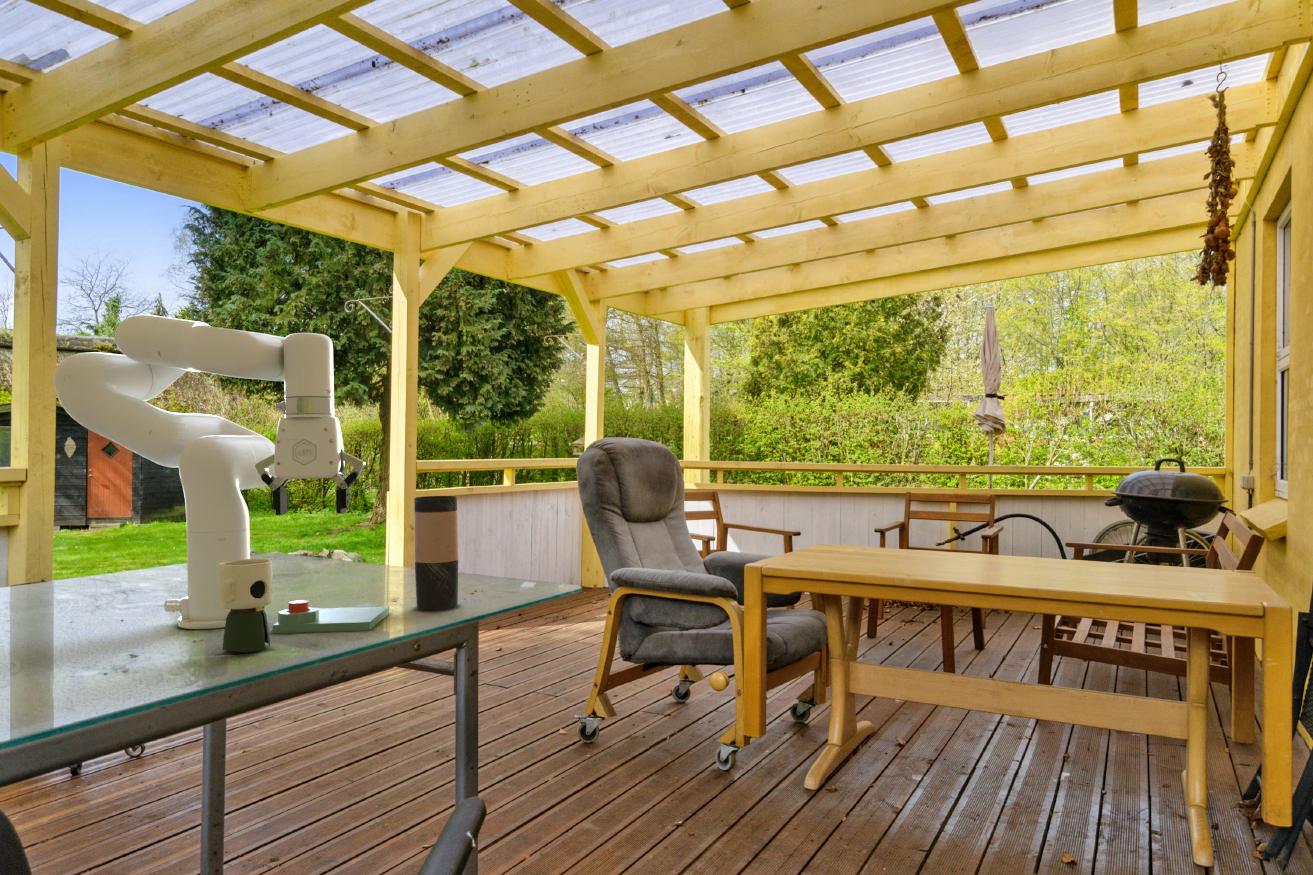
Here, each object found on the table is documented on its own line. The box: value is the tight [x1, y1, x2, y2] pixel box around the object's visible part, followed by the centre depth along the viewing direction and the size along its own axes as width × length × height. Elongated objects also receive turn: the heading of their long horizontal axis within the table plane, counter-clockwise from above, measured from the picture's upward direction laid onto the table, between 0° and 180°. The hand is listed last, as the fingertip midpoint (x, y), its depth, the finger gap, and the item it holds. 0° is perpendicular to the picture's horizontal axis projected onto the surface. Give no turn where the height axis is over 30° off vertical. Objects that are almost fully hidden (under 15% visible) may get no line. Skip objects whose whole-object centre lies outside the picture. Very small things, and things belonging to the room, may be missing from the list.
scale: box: [272, 605, 390, 634], centre depth 143 cm, size 15×13×3 cm
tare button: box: [287, 599, 310, 613], centre depth 139 cm, size 3×3×2 cm
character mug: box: [219, 558, 274, 655], centre depth 124 cm, size 11×7×13 cm, turn 175°
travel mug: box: [413, 495, 459, 612], centre depth 155 cm, size 8×8×20 cm
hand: (311, 513), depth 141 cm, fingers open, 9 cm apart
